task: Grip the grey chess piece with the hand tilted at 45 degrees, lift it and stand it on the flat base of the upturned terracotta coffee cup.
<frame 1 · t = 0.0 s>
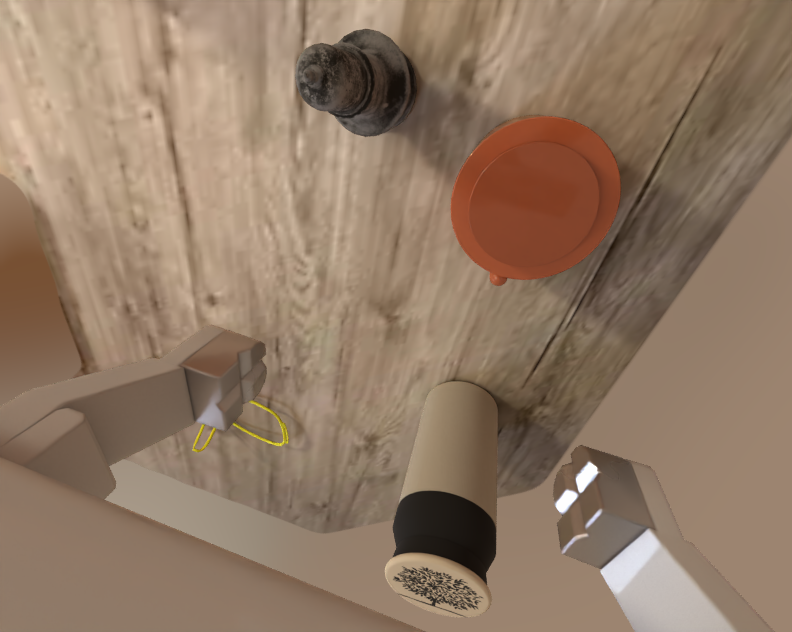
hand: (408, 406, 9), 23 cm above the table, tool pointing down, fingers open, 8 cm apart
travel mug: (461, 405, 39), on the table
yellow rope bow: (215, 404, 51), on the table
grey chess piece: (382, 89, 26), on the table
coffee cup: (522, 183, 26), on the table
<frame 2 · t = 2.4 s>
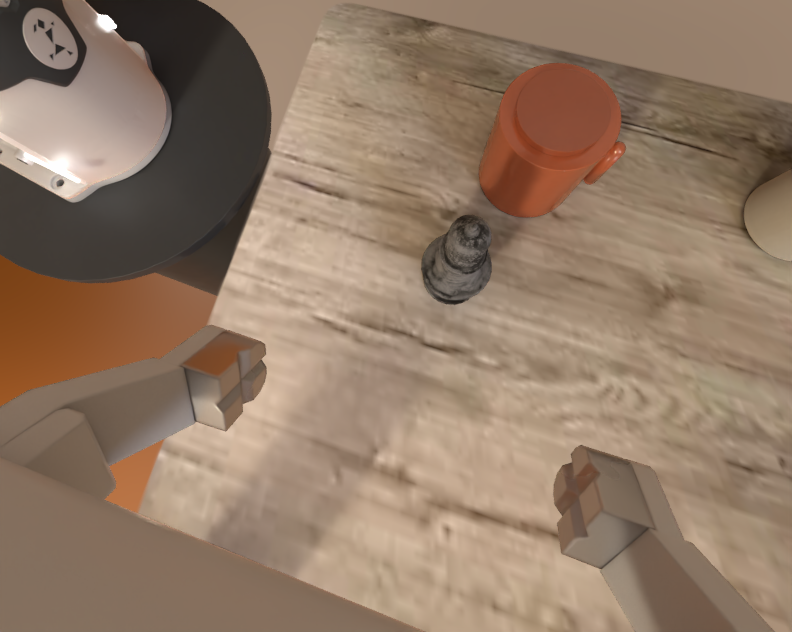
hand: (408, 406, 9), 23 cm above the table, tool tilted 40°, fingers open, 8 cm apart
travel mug: (782, 222, 32), on the table
grey chess piece: (451, 277, 33), on the table
coffee cup: (525, 174, 34), on the table
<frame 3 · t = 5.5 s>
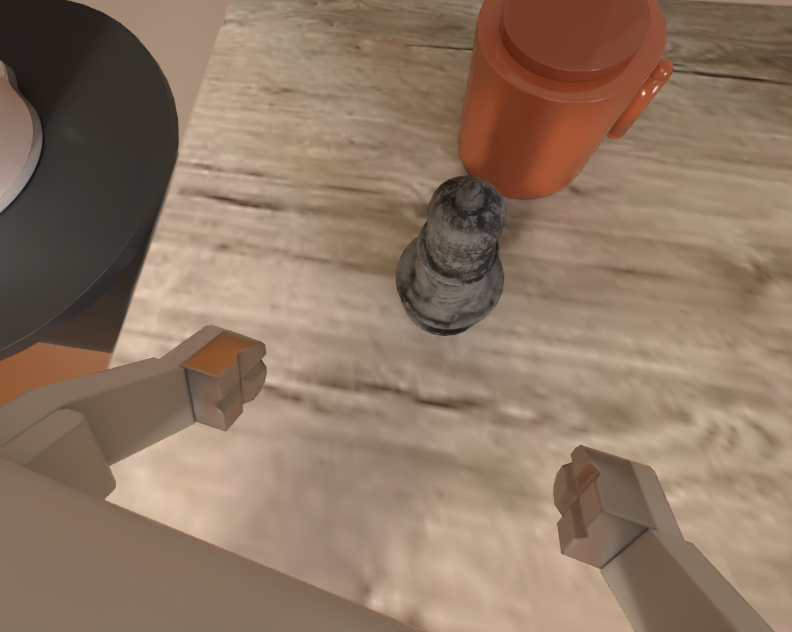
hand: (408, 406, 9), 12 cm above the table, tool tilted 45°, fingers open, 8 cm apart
grey chess piece: (443, 296, 23), on the table
coffee cup: (521, 143, 25), on the table
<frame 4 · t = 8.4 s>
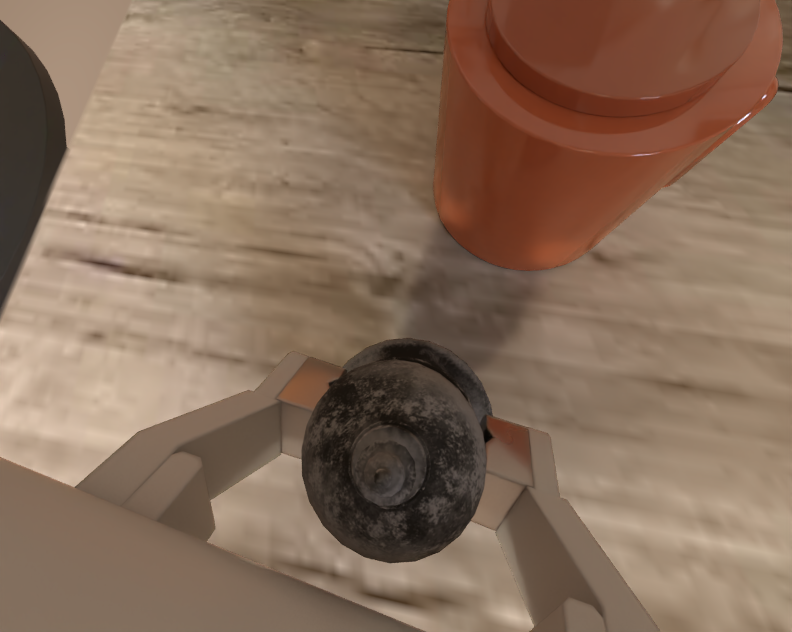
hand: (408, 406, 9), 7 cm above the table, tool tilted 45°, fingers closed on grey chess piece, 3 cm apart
grey chess piece: (407, 418, 15), on the table, touching gripper
coffee cup: (523, 186, 17), on the table
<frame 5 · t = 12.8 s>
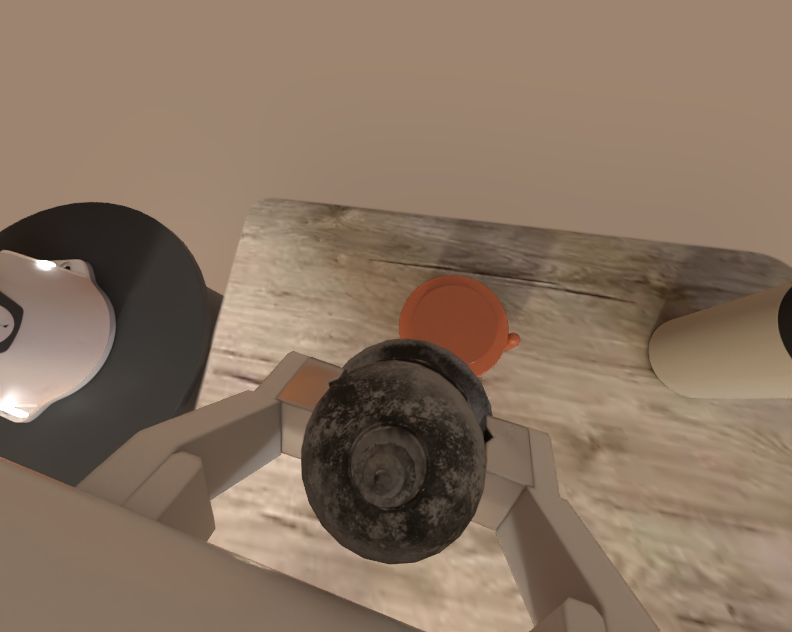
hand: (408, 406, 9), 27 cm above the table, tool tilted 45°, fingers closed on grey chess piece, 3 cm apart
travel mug: (686, 357, 35), on the table
grey chess piece: (407, 418, 15), point 20 cm above the table, touching gripper
coffee cup: (445, 341, 37), on the table
when the fingers open (15 cm above the table, at t = 17.5 s): grey chess piece stays where it is, resting on coffee cup.
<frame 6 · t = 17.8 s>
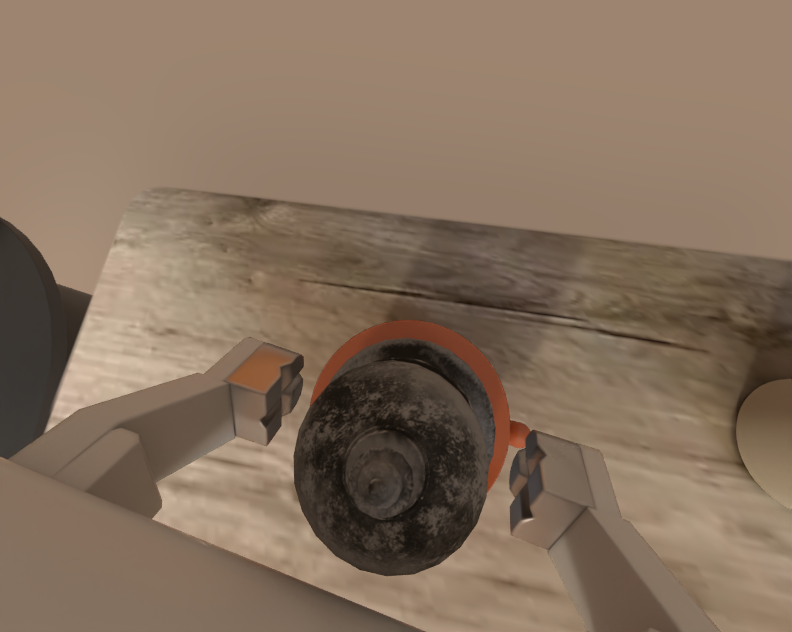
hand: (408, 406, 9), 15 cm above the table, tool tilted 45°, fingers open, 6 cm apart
grey chess piece: (407, 419, 15), point 8 cm above the table, touching coffee cup
coffee cup: (410, 412, 23), on the table
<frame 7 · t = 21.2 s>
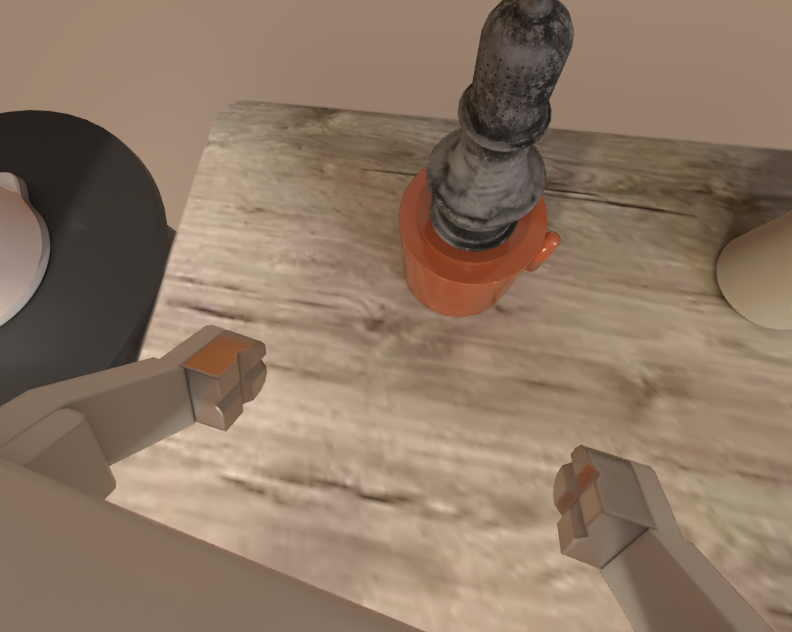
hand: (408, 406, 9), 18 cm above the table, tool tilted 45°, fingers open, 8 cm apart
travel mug: (764, 281, 28), on the table
grey chess piece: (473, 212, 21), point 8 cm above the table, touching coffee cup
coffee cup: (457, 264, 29), on the table
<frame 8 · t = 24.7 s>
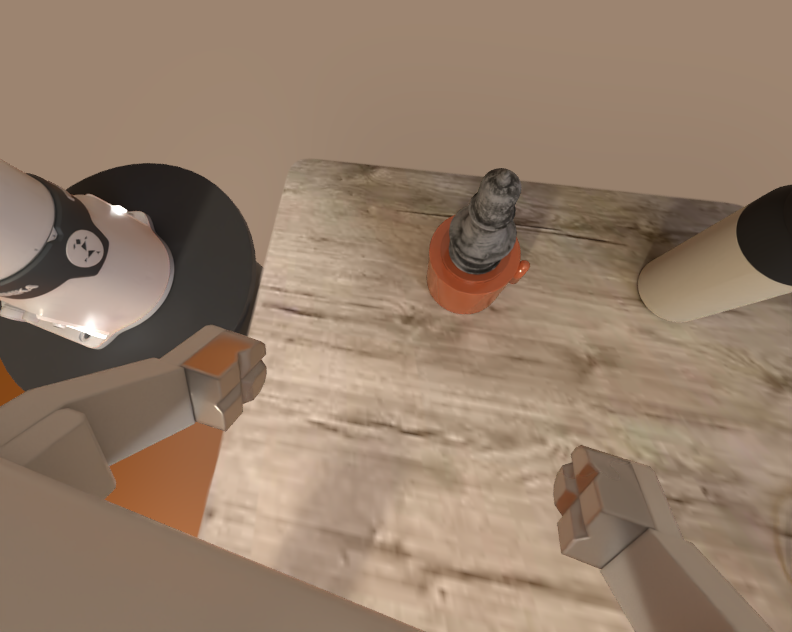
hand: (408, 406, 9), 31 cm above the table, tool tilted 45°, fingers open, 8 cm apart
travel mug: (670, 290, 41), on the table
grey chess piece: (475, 250, 34), point 8 cm above the table, touching coffee cup
coffee cup: (463, 278, 42), on the table
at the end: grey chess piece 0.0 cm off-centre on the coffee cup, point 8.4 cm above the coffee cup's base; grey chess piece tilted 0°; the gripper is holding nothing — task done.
